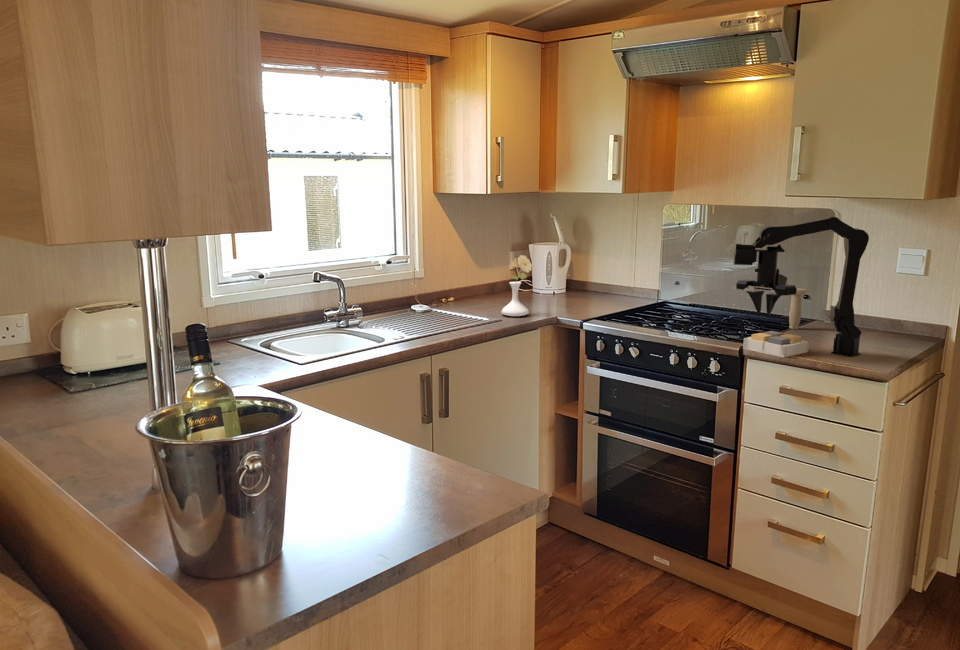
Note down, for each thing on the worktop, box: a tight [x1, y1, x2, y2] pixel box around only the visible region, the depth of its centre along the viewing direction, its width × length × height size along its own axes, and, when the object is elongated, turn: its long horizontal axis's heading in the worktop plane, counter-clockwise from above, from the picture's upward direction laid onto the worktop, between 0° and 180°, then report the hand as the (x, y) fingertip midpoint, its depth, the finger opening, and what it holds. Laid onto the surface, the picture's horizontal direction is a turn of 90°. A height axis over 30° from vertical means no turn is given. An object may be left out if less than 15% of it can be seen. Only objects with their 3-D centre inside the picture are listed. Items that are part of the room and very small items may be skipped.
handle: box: [788, 287, 807, 330], centre depth 273 cm, size 5×6×15 cm
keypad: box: [742, 336, 810, 358], centre depth 239 cm, size 15×13×4 cm
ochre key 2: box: [780, 333, 802, 343], centre depth 238 cm, size 5×5×3 cm
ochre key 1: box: [750, 332, 773, 342], centre depth 240 cm, size 5×5×3 cm
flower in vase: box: [501, 254, 533, 317], centre depth 300 cm, size 13×11×25 cm
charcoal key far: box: [762, 330, 785, 337], centre depth 243 cm, size 5×5×3 cm
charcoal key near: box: [768, 336, 790, 345], centre depth 234 cm, size 5×5×3 cm
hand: (763, 313), depth 238 cm, fingers open, 3 cm apart
